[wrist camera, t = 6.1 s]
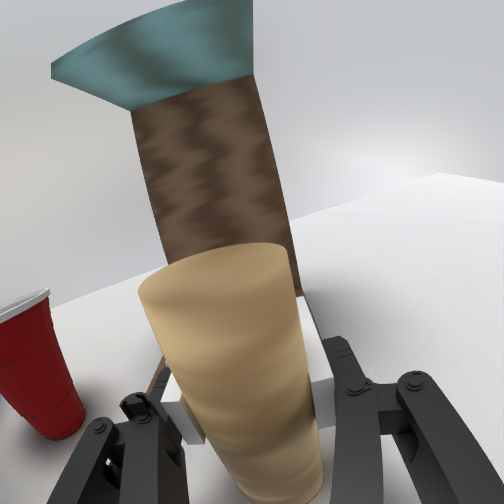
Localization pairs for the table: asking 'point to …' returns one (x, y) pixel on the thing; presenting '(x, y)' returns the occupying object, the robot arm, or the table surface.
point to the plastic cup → (37, 368)
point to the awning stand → (192, 125)
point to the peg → (242, 364)
